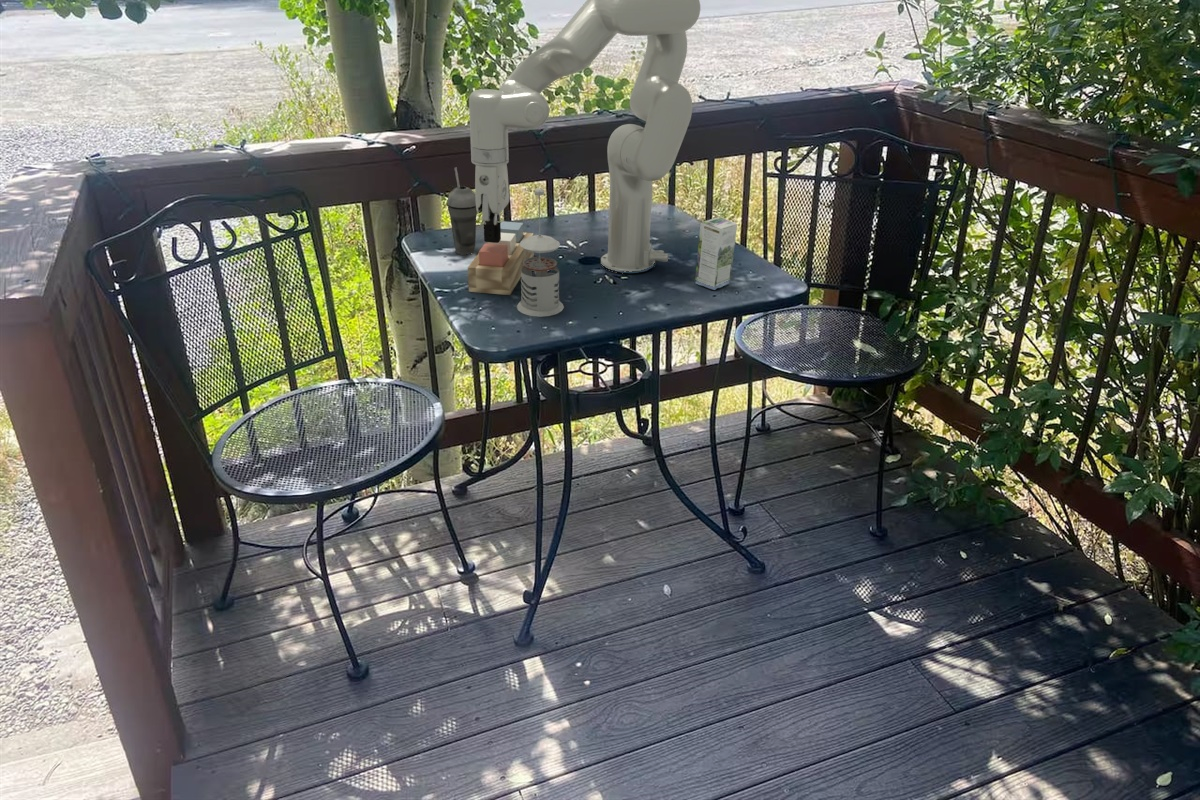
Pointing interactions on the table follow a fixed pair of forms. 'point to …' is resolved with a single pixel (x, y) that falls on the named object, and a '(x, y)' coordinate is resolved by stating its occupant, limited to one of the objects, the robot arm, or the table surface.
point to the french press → (539, 275)
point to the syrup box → (715, 251)
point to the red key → (493, 255)
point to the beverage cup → (463, 218)
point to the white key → (507, 242)
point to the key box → (498, 273)
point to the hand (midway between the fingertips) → (492, 241)
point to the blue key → (513, 229)
